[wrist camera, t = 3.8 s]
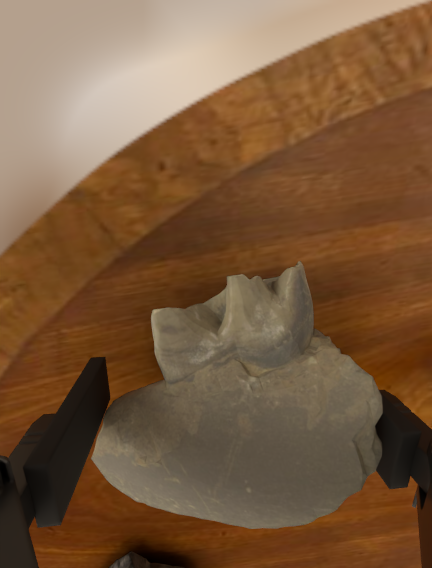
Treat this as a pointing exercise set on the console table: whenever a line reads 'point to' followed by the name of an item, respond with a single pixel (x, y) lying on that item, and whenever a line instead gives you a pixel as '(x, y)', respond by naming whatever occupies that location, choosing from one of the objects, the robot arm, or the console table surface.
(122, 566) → the stone
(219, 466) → the fossil
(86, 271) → the console table surface
